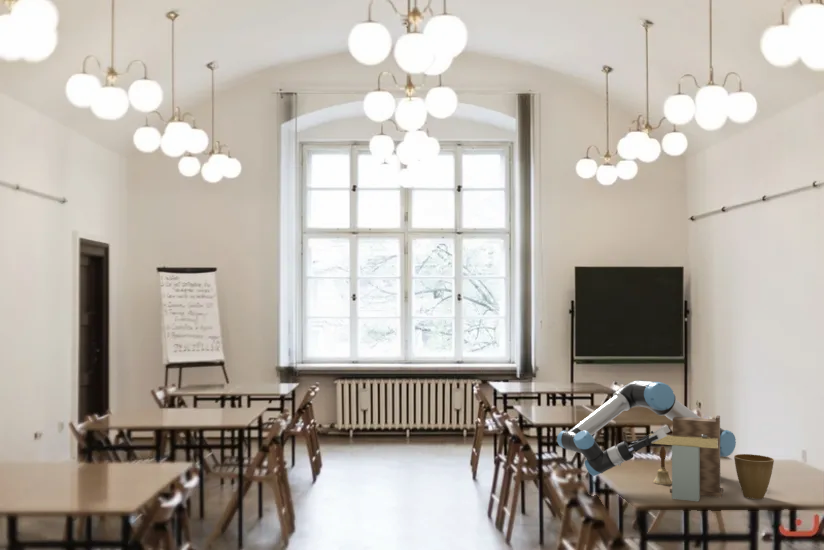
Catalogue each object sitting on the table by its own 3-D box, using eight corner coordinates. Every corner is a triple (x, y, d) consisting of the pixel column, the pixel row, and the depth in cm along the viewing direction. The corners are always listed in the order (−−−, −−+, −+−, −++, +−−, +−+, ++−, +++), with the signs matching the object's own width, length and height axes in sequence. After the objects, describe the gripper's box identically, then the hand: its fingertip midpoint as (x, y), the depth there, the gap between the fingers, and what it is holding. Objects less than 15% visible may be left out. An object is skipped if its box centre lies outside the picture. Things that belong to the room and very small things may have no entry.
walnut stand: (669, 492, 329) (669, 415, 330) (673, 486, 339) (672, 412, 341) (721, 497, 320) (721, 418, 322) (723, 491, 331) (722, 415, 333)
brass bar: (649, 443, 323) (649, 431, 324) (650, 442, 327) (650, 430, 327) (717, 448, 313) (717, 436, 313) (717, 447, 316) (717, 435, 316)
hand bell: (673, 485, 342) (673, 448, 343) (653, 484, 344) (653, 447, 344) (671, 481, 350) (671, 445, 351) (652, 480, 352) (652, 444, 353)
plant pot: (728, 496, 322) (727, 457, 322) (743, 491, 332) (743, 452, 333) (765, 503, 311) (765, 462, 312) (780, 497, 322) (779, 457, 322)
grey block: (672, 498, 317) (671, 445, 318) (673, 495, 324) (673, 443, 325) (698, 501, 313) (698, 447, 314) (699, 497, 320) (699, 445, 320)
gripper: (630, 456, 340) (675, 434, 333) (620, 466, 317) (668, 443, 310) (621, 440, 342) (665, 418, 335) (610, 449, 319) (658, 426, 312)
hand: (667, 430), depth 322 cm, fingers open, 13 cm apart
